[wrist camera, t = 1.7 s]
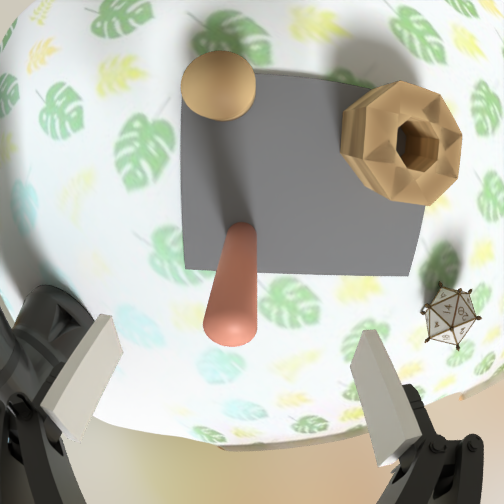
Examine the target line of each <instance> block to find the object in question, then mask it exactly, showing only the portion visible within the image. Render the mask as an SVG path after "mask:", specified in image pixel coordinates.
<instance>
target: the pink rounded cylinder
mask: <svg viewBox="0 0 504 504" xmlns="http://www.w3.org/2000/svg"><path fill="white" fill-rule="evenodd" d="M203 328H204V331H205V333H206V335H207V336H208V337H209V338H210V339H211V340H212V341H214V342H216V343H218V344H220V345H223V346H229V347H235V346H241V345H244V344H246V343H248V342H249V341H251V340H252V339H253V338H254V336H255V334H256V332H257V233H256V231H255V229H254V227H253V226H252V225H250V224H248V223H245V222H238V223H235V224H233V225H232V226H231V227H230V228H229V229H228V232H227V235H226V239H225V242H224V246H223V249H222V253H221V256H220V260H219V264H218V267H217V271H216V275H215V278H214V282H213V286H212V290H211V293H210V297H209V301H208V305H207V309H206V312H205V316H204V320H203Z"/></svg>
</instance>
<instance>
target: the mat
mask: <svg viewBox="0 0 504 504" xmlns="http://www.w3.org/2000/svg"><path fill="white" fill-rule="evenodd" d="M255 80H256V95H255V100H254V103H253V105H252V107H251V108H250V109H249V111H248V112H247V113H246V114H244V115H243V116H241V117H240V118H238V119H235V120H232V121H225V122H222V121H215V120H212V119H209V118H207V117H204V116H201V115H199V114H197V113H195V112H194V111H192V110H191V109H190V108H189V107H188V106H187V104H186V103H185V101H184V99H183V97H182V114H181V195H182V222H183V241H184V257H185V269H192V270H211V271H217V267H218V264H219V260H220V256H221V253H222V249H223V246H224V242H225V239H226V235H227V232H228V229H229V228H230V227H231V226H232V225H233V224H235V223H238V222H245V223H248V224H250V225H252V226H253V227H254V229H255V231H256V233H257V273H283V274H314V275H355V276H408V275H409V272H410V268H411V265H412V261H413V257H414V254H415V250H416V246H417V242H418V238H419V234H420V229H421V225H422V220H423V215H424V210H425V205H418V204H412V203H405V202H397V201H391V200H389V199H387V198H385V197H384V196H382V195H380V194H378V193H376V192H375V191H373V190H371V189H369V188H367V187H365V186H364V185H363V183H362V182H361V180H360V179H359V178H358V176H357V175H356V174H355V172H354V171H353V170H352V168H351V167H350V166H349V164H348V163H347V162H346V160H345V159H344V158H343V156H342V155H341V154H340V148H341V134H342V118H343V111H344V110H346V109H347V108H348V107H349V106H351V105H352V104H353V103H355V102H356V101H357V100H358V99H360V98H361V97H362V96H364V95H365V94H366V93H367V92H369V91H370V90H371V89H369V88H364V87H360V86H355V85H350V84H344V83H339V82H333V81H327V80H320V79H313V78H304V77H295V76H284V75H271V74H255ZM405 145H406V135H405V133H404V132H403V130H402V129H401V127H398V130H397V143H396V151H397V153H398V155H399V156H400V157H401V156H402V155H403V154H404V153H405Z"/></svg>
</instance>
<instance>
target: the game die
mask: <svg viewBox="0 0 504 504" xmlns="http://www.w3.org/2000/svg"><path fill="white" fill-rule="evenodd" d="M442 285H443V284H442V283H441V282H440V281H439V286H440V289H439V291H438V293H437V294H436V296H435V298H434V299H433V301H432V302H431V304H430V305H429V304H428V303H427V304H425V307H426V308H428V309H427V310H426V312H425V311H422V312H420V313H421V314H422V315H425V316H426V322H427V329H428V336H429V337H428V338H427V339H425V343H426V342H428V341H429V340H430V339H433V340H437V341H441V342H445V343H449V344H453V345H456V349H457V350H458V351H459V349H460V347H459V343H460V342H461V340H462V339H463V337H464V336H465V335H466V333H467V332H468V330H469V329H470V327H471V326H472V325H473V323H474V322H475V320H476V319H477V320H480V319H482V318H481V317H480V316H476V314H475V311H474V307H473V304H472V301H471V298H470V295H469V294H471V292H472V289H470V290H469V291H468V293H467V292H463V291H462V289H461V288H460V289H458V290H454V289H450V288H446V287H443V286H442Z"/></svg>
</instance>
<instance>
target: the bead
mask: <svg viewBox="0 0 504 504" xmlns="http://www.w3.org/2000/svg"><path fill="white" fill-rule="evenodd" d="M398 127H401V129H402V130H403V132H404V133H405V135H406V145H405V153H404V154H403V155H402V156H401V157H400V156H399V155H398V153H397V151H396V143H397V130H398ZM461 146H462V133H461V131H460V129H459V127H458V125H457V123H456V121H455V119H454V118H453V116H452V114H451V112H450V110H449V109H448V107H447V105H446V103H445V102H444V100H443V98H442V97H441V95H440V94H438V93H435V92H433V91H430V90H427V89H425V88H422V87H419V86H416V85H413V84H410V83H407V82H404V81H401V80H400V81H397V82H393V83H390V84H387V85H384V86H380V87H377V88H374V89H371V90H370V91H369V92H367V93H366V94H365V95H364V96H362V97H361V98H360V99H358V100H357V101H356V102H355V103H353V104H352V105H351V106H349V107H348V108H347V109H346V110H344V111H343V118H342V134H341V148H340V154H341V155H342V156H343V158H344V159H345V160H346V162H347V163H348V164H349V166H350V167H351V168H352V170H353V171H354V172H355V174H356V175H357V176H358V178H359V179H360V180H361V182H362V183H363V185H364V186H365V187H367V188H369V189H371V190H373V191H375V192H376V193H378V194H380V195H382V196H384V197H385V198H387V199H389V200H391V201H397V202H405V203H412V204H418V205H425V206H430V205H431V204H432V203H433V202H434V201H436V200H437V199H438V198H439V197H440V196H441V195H442V194H443V193H444V192H445V191H446V190H447V189H448V188H449V187H450V186H451V185H452V184H453V183H454V182H455V181H456V180H457V179H458V173H459V165H460V156H461Z"/></svg>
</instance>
